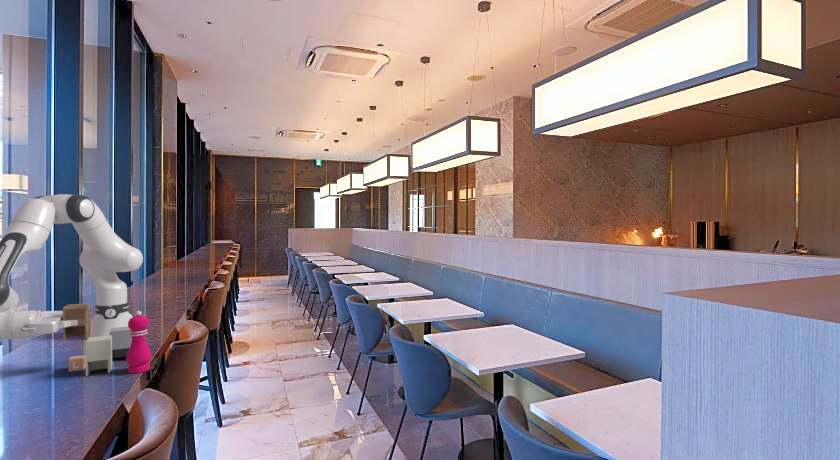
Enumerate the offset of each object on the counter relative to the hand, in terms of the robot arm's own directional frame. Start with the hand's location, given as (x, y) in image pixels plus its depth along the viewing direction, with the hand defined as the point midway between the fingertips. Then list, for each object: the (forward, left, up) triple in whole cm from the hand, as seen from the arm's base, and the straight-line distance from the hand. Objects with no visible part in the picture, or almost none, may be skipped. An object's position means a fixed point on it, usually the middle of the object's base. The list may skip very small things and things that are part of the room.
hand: (80, 319), depth 153 cm
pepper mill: (+12, +18, -17) cm, 27 cm away
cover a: (0, -1, -6) cm, 6 cm away
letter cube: (0, -1, -17) cm, 17 cm away
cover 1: (+7, +6, -17) cm, 19 cm away
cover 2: (-6, +11, -17) cm, 21 cm away
